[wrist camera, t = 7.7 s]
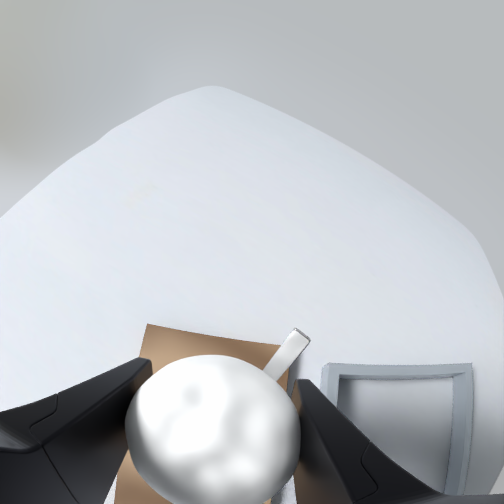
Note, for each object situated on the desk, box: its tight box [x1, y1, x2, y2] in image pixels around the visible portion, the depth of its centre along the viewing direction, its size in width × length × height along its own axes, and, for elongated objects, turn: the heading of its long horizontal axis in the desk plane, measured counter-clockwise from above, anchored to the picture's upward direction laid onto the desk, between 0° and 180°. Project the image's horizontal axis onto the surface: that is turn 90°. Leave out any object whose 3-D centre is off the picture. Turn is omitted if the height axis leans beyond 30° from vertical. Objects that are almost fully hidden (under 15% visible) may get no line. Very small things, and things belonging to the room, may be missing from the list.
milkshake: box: [125, 328, 311, 504], centre depth 9 cm, size 5×5×10 cm
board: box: [114, 324, 289, 504], centre depth 18 cm, size 16×11×1 cm
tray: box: [320, 363, 473, 495], centre depth 17 cm, size 14×14×2 cm
